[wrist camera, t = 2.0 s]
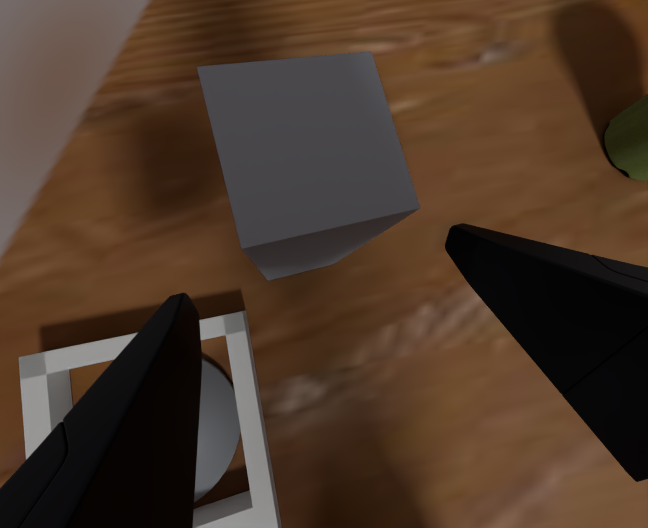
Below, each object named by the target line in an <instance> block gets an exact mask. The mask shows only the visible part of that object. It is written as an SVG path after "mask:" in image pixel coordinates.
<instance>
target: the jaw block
mask: <svg viewBox="0 0 648 528" xmlns="http://www.w3.org/2000/svg"><path fill="white" fill-rule="evenodd" d="M197 70H198V74H199V78H200V82H201V86H202V90H203V94H204V98H205V102H206V106H207V110H208V114H209V119H210V123H211V127H212V131H213V135H214V139H215V143H216V147H217V151H218V155H219V159H220V163H221V167H222V172H223V176H224V180H225V184H226V188H227V192H228V196H229V200H230V204H231V208H232V212H233V216H234V221H235V225H236V229H237V233H238V237H239V241H240V245H241V249H242V250H243V251H244V253H245V254H246V255H247V256H248V257H249V259H250V260H251V261H252V262H253V263H254V265H255V266H256V267H257V268H258V269H259V271H260V272H261V273H262V274H263V275H264V277H265V278H266V279H267V280H268V281H270V280H274V279H278V278H281V277H285V276H289V275H293V274H297V273H301V272H305V271H309V270H313V269H316V268H320V267H324V266H328V265H332V264H335V263H336V262H338V261H339V260H341V259H343V258H344V257H346V256H347V255H349V254H350V253H352V252H353V251H355V250H356V249H358V248H360V247H361V246H363V245H364V244H366V243H367V242H369V241H370V240H372V239H373V238H375V237H377V236H378V235H380V234H381V233H383V232H384V231H386V230H387V229H389V228H390V227H392V226H393V225H395V224H397V223H398V222H400V221H401V220H403V219H404V218H406V217H407V216H409V215H410V214H412V213H414V212H415V211H417V210H418V209H420V206H419V203H418V199H417V196H416V193H415V190H414V187H413V183H412V180H411V177H410V174H409V171H408V167H407V164H406V161H405V158H404V155H403V152H402V148H401V145H400V142H399V139H398V136H397V132H396V129H395V126H394V123H393V120H392V116H391V113H390V110H389V107H388V104H387V100H386V97H385V94H384V91H383V88H382V85H381V81H380V78H379V75H378V72H377V69H376V65H375V62H374V59H373V56H372V53H371V52H360V53H348V54H337V55H325V56H314V57H302V58H291V59H279V60H268V61H256V62H245V63H233V64H222V65H210V66H199V67H197Z"/></svg>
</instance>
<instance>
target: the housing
mask: <svg viewBox="0 0 648 528" xmlns="http://www.w3.org/2000/svg"><path fill="white" fill-rule="evenodd" d="M199 321H200V336H201V340H205V339H209V338H214V337H218V336H223V335H226V339H227V346H228V352H229V358H230V365H231V371H232V378H233V384H234V388H233V386H232V384H231V382H230V381H229V379H228V378H227V377H226V375H225V374H224V373H223V372H222V371H221V370H220V369H219V368H217V367H216V366H214V365H213V364H212V363H210V362H208V361H206V360H205V359H202V380H201V397H200V413H199V430H198V446H197V463H196V480H195V496H194V502H196V501H197V500H199V499H200V498H201V497H203V496H204V495H205V494H206V493H207V492H208V491H210V490H211V489H212V488H213V486H214V485H215V484H216V483H217V482H218V481H219V480H220V478H221V477H222V475H223V474H224V473H225V471H226V469H227V468H228V466H229V464H230V462H231V460H232V458H233V455H234V453H235V450H236V447H237V444H238V440H239V436H240V430H241V435H242V442H243V448H244V454H245V461H246V467H247V474H248V480H249V487H250V490H249V491H246V492H243V493H240V494H237V495H234V496H231V497H228V498H225V499H222V500H219V501H216V502H213V503H210V504H207V505H204V506H201V507H198V508H195V509H194V513H193V528H282V526H281V519H280V513H279V507H278V501H277V495H276V489H275V483H274V477H273V471H272V465H271V459H270V453H269V447H268V441H267V435H266V429H265V423H264V417H263V411H262V405H261V399H260V393H259V387H258V381H257V375H256V369H255V362H254V356H253V350H252V344H251V338H250V332H249V326H248V320H247V314H246V310H245V311H240V312H236V313H231V314H226V315H221V316H216V317H211V318H206V319H201V320H199ZM136 334H137V333H133V334H128V335H123V336H118V337H113V338H108V339H103V340H99V341H94V342H89V343H84V344H79V345H74V346H69V347H64V348H59V349H54V350H50V351H45V352H40V353H36V354H31V355H27V356H23V357H19V368H20V382H21V395H22V409H23V422H24V436H25V449H26V460H27V458H28V457H29V456H30V455H31V454H32V453H33V452H34V451H35V450H36V448H37V447H38V446H39V445H40V444H41V443H42V442H43V441H44V439H45V438H46V437H47V436H48V435H49V434H50V433H51V431H52V430H53V429H54V428H55V427H56V426H57V425H58V423H60V422H63V418H64V417H65V416H66V414H67V413H68V412H69V411H70V410H71V409H72V408H73V404H72V393H71V382H70V371H69V369H72V368H77V367H81V366H86V365H90V364H95V363H99V362H104V361H109V360H113V359H115V358H116V357H117V356H118V355H119V354H120V353H121V351H122V350H123V349H124V348H125V347H126V346H127V345H128V343H129V342H130V341H131V340H132V339H133V338H134V337H135V335H136Z"/></svg>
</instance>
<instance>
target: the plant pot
mask: <svg viewBox="0 0 648 528" xmlns="http://www.w3.org/2000/svg"><path fill="white" fill-rule="evenodd" d="M609 123H610V125H609V127H608V128H607V130H606V132H605V136H604V138H605V140H604V142H605V147H606V150H607V152H608V155H609V158H610V160H611V161H612V163H613V164H614V165H615V166H616V167H617V168H619V169H622V170H624V171H626V172H627V173H628V174H629V177H630V178H632V179H635V180H641V181H645V180H648V94H647V95H645V96H644V97H643V98H641V99H640V100H638V101H637V102H635V103H634V104H633V105H631V106H630V107H628V108H627V109H625V110H624V111H623V112H621V113H620V114H618V115H617V116H616V117H614V118H613V119H612V120H611V121H610V122H609Z"/></svg>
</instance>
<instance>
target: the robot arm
mask: <svg viewBox="0 0 648 528" xmlns="http://www.w3.org/2000/svg"><path fill="white" fill-rule="evenodd" d="M445 249H446V251H447V253H448V254H449V256H450V257H451V259H452V260H453V262H454V263H455V265H456V266H457V268H458V269H459V270H460V272H461V273H462V275H463V276H464V278H465V279H466V281H467V282H468V283H469V285H470V286H471V287H472V288H473V289H474V291H475V292H476V293H477V294H478V295H479V297H480V298H481V299H482V300H483V301H484V303H485V304H486V305H487V306H488V307H489V309H490V310H491V311H492V312H493V313H494V314H495V316H496V317H497V318H498V319H499V320H500V322H501V323H502V324H503V325H504V326H505V328H506V329H507V330H508V331H509V332H510V333H511V335H512V336H513V337H514V338H515V339H516V341H517V342H518V343H519V344H520V345H521V347H522V348H523V349H524V350H525V351H526V353H527V354H528V355H529V356H530V357H531V358H532V360H533V361H534V362H535V363H536V364H537V366H538V367H539V368H540V369H541V370H542V372H543V373H544V374H545V375H546V376H547V377H548V379H549V380H550V381H551V382H552V383H553V385H554V386H555V387H556V388H557V389H558V391H559V392H560V393H561V394H562V396H563V397H564V398H565V399H566V400H567V402H568V403H569V404H570V405H571V406H572V408H573V409H574V410H575V411H576V412H577V414H578V415H579V416H580V417H581V418H582V420H583V421H584V422H585V423H586V424H587V425H588V427H589V428H590V429H591V430H592V431H593V433H594V434H595V435H596V436H597V437H598V439H599V440H600V441H601V442H602V443H603V445H604V446H605V447H606V448H607V449H608V450H609V452H610V453H611V454H612V455H613V456H614V458H615V459H616V460H617V461H618V462H619V464H620V465H621V466H622V467H623V468H624V470H625V471H626V472H627V473H628V474H629V475H630V476H631V477H632V478H633V479H634V480H635V481H636V482H639V481H642V480H646V479H648V268H647V267H643V266H638V265H633V264H629V263H625V262H620V261H616V260H612V259H608V258H604V257H599V256H595V255H590V254H587V253H583V252H579V251H575V250H571V249H567V248H562V247H558V246H554V245H550V244H546V243H542V242H538V241H534V240H530V239H526V238H521V237H517V236H513V235H509V234H505V233H501V232H497V231H493V230H489V229H485V228H480V227H476V226H472V225H468V224H464V223H462V224H457V225H454V226H452V227H451V228H450V230H449V233H448V236H447V240H446V243H445ZM201 380H202V350H201V336H200V321H199V314H198V311H197V309H196V308H195V306H194V304H193V303H192V301H191V299H190V298H189V296H188V295H187V294H186V293H180V294H176V295H172V296H170V297H169V298H168V299H167V300H166V301H165V302H164V303H163V304H162V306H161V307H160V308H159V309H158V310H157V311H156V312H155V314H154V315H153V316H152V317H151V318H150V319H149V321H148V322H147V323H146V324H145V325H144V326H143V327H142V329H141V330H140V331H139V332H138V333H137V334H136V335H135V337H134V338H133V339H132V340H131V341H130V342H129V343H128V345H127V346H126V347H125V348H124V349H123V350H122V351H121V353H120V354H119V355H118V356H117V357H116V358H115V359H114V361H113V362H112V363H111V364H110V365H109V366H108V367H107V369H106V370H105V371H104V372H103V373H102V374H101V376H100V377H99V378H98V379H97V380H96V381H95V382H94V384H93V385H92V386H91V387H90V388H89V389H88V390H87V392H86V393H85V394H84V395H83V396H82V397H81V398H80V400H79V401H78V402H77V403H76V404H75V405H74V406H73V408H72V409H71V410H70V411H69V412H68V413H67V414H66V416H65V417H64V418H63V422H60V423H58V425H57V426H56V427H55V428H54V429H53V430H52V431H51V433H50V434H49V435H48V436H47V437H46V438H45V439H44V441H43V442H42V443H41V444H40V445H39V446H38V447H37V448H36V450H35V451H34V452H33V453H32V454H31V455H30V456H29V457H28V458H27V460H26V461H25V462H24V463H23V464H22V465H21V466H20V467H19V468H18V470H17V471H16V472H15V473H14V474H13V475H12V476H11V477H10V478H9V479H8V480H7V481H6V483H5V484H4V485H3V486H2V487H1V488H0V528H193V513H194V496H195V480H196V463H197V446H198V430H199V413H200V397H201Z"/></svg>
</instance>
